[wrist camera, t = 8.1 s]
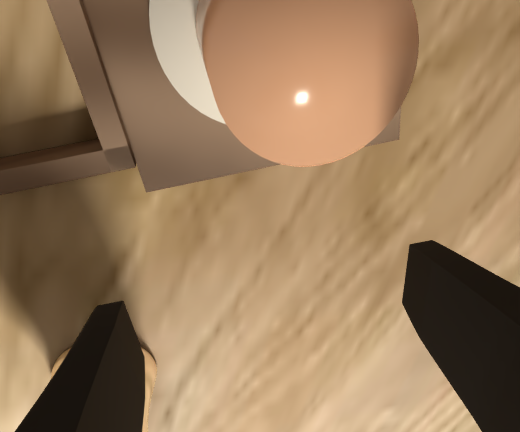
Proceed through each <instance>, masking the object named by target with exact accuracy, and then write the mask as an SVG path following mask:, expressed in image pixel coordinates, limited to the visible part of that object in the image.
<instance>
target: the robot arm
mask: <svg viewBox="0 0 520 432" xmlns="http://www.w3.org/2000/svg"><path fill="white" fill-rule="evenodd" d="M402 304H403V306H404V308H405V310H406V312H407V314H408V316H409V318H410V320H411V322H412V324H413V326H414V328H415V330H416V332H417V334H418V336H419V338H420V339H421V341H422V342H423V344H424V345H425V347H426V348H427V350H428V351H429V353H430V354H431V356H432V357H433V359H434V360H435V362H436V363H437V365H438V366H439V368H440V369H441V371H442V372H443V374H444V375H445V377H446V378H447V380H448V381H449V382H450V384H451V385H452V387H453V388H454V390H455V391H456V393H457V394H458V396H459V397H460V399H461V400H462V402H463V403H464V405H465V406H466V408H467V409H468V410H469V412H470V413H471V415H472V416H473V418H474V420H475V421H476V423H477V424H478V426H479V428H480V429H481V431H482V432H520V287H518V286H516V285H514V284H512V283H510V282H508V281H506V280H505V279H503V278H501V277H499V276H497V275H495V274H494V273H492V272H490V271H488V270H486V269H484V268H483V267H481V266H479V265H477V264H476V263H474V262H472V261H470V260H468V259H467V258H465V257H463V256H461V255H459V254H458V253H456V252H454V251H452V250H450V249H448V248H447V247H445V246H443V245H441V244H439V243H437V242H435V241H433V240H430V241H425V242H420V243H415V244H410V246H409V253H408V261H407V269H406V276H405V284H404V292H403V299H402ZM144 407H145V357H144V354H143V351H142V349H141V346H140V343H139V341H138V338H137V336H136V333H135V330H134V328H133V325H132V322H131V320H130V317H129V314H128V312H127V309H126V307H125V304H124V301H119V302H114V303H109V304H104V305H99V306H97V307H96V308H95V309H94V311H93V312H92V314H91V316H90V317H89V319H88V321H87V322H86V324H85V326H84V327H83V329H82V331H81V332H80V334H79V336H78V337H77V339H76V341H75V342H74V344H73V346H72V347H71V349H70V350H69V352H68V354H67V355H66V357H65V359H64V360H63V362H62V363H61V365H60V366H59V368H58V369H57V371H56V372H55V374H54V376H53V377H52V379H51V380H50V382H49V383H48V385H47V386H46V388H45V389H44V391H43V392H42V394H41V395H40V397H39V398H38V400H37V401H36V402H35V404H34V405H33V407H32V408H31V409H30V411H29V412H28V414H27V415H26V417H25V418H24V419H23V421H22V422H21V424H20V425H19V426H18V428H17V429H16V431H15V432H142V427H143V417H144Z"/></svg>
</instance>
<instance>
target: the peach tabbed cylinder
mask: <svg viewBox="0 0 520 432" xmlns="http://www.w3.org/2000/svg"><path fill="white" fill-rule="evenodd" d="M196 36H197V41H198V45H199V48H200V52H201V55H202V58H203V62H204V65H205V68H206V72H207V75H208V78H209V82H210V85H211V88H212V92H213V95H214V98H215V101H216V104H217V107H218V109H219V112H220V114H221V116H222V118H223V119H224V121H225V123H226V125H227V126H228V128H229V129H230V130H231V132H232V133H233V134H234V135H235V137H236V138H237V139H238V140H239V141H240V142H241V143H242V144H243V145H245V146H246V147H247V148H248V149H250V150H251V151H252V152H254V153H256V154H258V155H259V156H261V157H263V158H265V159H268V160H270V161H272V162H275V163H279V164H283V165H289V166H296V167H309V166H318V165H323V164H327V163H331V162H334V161H337V160H340V159H343V158H345V157H347V156H349V155H351V154H353V153H355V152H356V151H358V150H359V149H361V148H363V147H364V146H366V145H367V144H368V143H369V142H370V141H372V140H373V139H374V138H375V137H376V136H377V135H378V134H379V133H380V132H381V131H383V130H384V129H385V127H386V126H387V125H388V124H389V122H390V121H391V120H392V119H393V117H394V116H395V114H396V113H397V111H398V110H399V108H400V107H401V105H402V103H403V101H404V99H405V97H406V95H407V93H408V91H409V88H410V86H411V83H412V80H413V76H414V73H415V69H416V64H417V58H418V46H419V35H418V24H417V19H416V14H415V10H414V7H413V4H412V1H411V0H199V1H198V5H197V10H196Z"/></svg>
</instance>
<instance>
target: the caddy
mask: <svg viewBox="0 0 520 432" xmlns="http://www.w3.org/2000/svg"><path fill="white" fill-rule="evenodd" d="M198 1H199V0H47V2H48V5H49V8H50V10H51V13H52V16H53V18H54V21H55V24H56V26H57V29H58V32H59V34H60V37H61V40H62V42H63V45H64V47H65V50H66V53H67V55H68V58H69V61H70V63H71V66H72V69H73V71H74V74H75V77H76V79H77V82H78V85H79V87H80V90H81V93H82V95H83V98H84V101H85V103H86V106H87V109H88V111H89V114H90V117H91V119H92V122H93V124H94V127H95V130H96V132H97V135H98V138H99V139H95V140H90V141H85V142H80V143H74V144H69V145H64V146H59V147H54V148H49V149H44V150H39V151H34V152H29V153H24V154H19V155H13V156H8V157H3V158H0V195H2V194H7V193H12V192H17V191H22V190H27V189H32V188H36V187H41V186H46V185H51V184H56V183H61V182H66V181H71V180H76V179H81V178H85V177H90V176H95V175H100V174H105V173H110V172H115V171H120V170H125V169H130V168H135V167H136V163H137V166H138V169H139V172H140V175H141V178H142V181H143V184H144V187H145V190H146V192H151V191H155V190H160V189H165V188H170V187H175V186H179V185H184V184H189V183H194V182H198V181H203V180H208V179H213V178H218V177H222V176H227V175H232V174H237V173H241V172H246V171H251V170H256V169H261V168H265V167H270V166H275V165H280V164H279V163H275V162H272V161H270V160H268V159H265V158H263V157H261V156H259V155H258V154H256V153H254V152H252V151H251V150H250V149H248V148H247V147H246V146H245V145H243V144H242V143H241V142H240V141H239V140H238V139H237V138H236V137H235V135H234V134H233V133H232V132H231V130H230V129H229V128H228V126H227V125H226V123H225V121H224V119H223V118H222V116H221V114H220V112H219V109H218V107H217V104H216V101H215V98H214V95H213V92H212V88H211V85H210V82H209V78H208V75H207V72H206V68H205V65H204V62H203V58H202V55H201V52H200V48H199V45H198V41H197V36H196V10H197V5H198ZM400 114H401V107H400V108H399V110H398V111H397V113H396V114H395V116H394V117H393V119H392V120H391V121H390V122H389V124H388V125H387V126H386V127H385V129H384V130H383V131H381V132H380V133H379V134H378V135H377V136H376V137H375V138H374V139H373V140H372V141H370V142H369V143H368V144H367V145H366V146H370V145H375V144H380V143H385V142H390V141H394V140H399V133H400ZM366 146H364V147H366Z"/></svg>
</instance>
